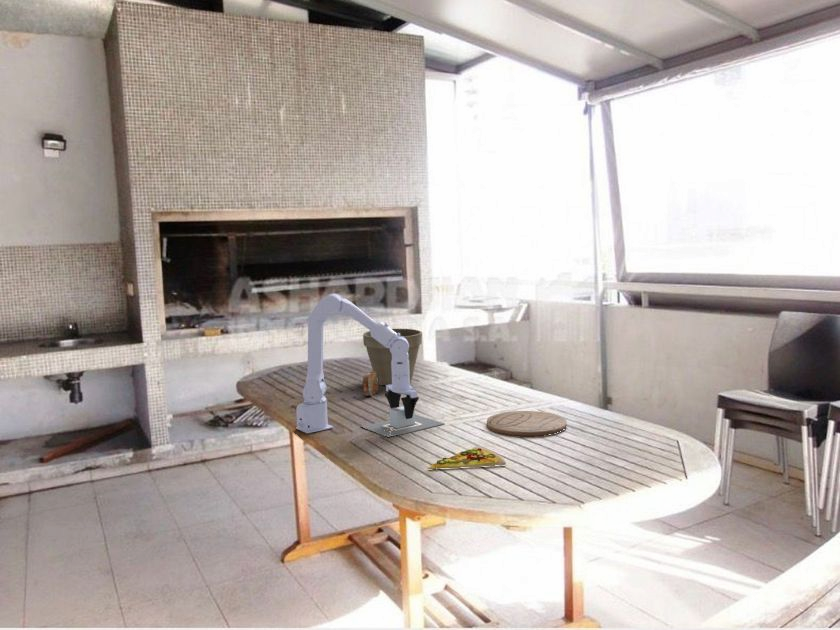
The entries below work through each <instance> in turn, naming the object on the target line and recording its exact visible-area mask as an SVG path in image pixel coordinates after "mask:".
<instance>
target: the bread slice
mask: <svg viewBox="0 0 840 630" xmlns="http://www.w3.org/2000/svg"><path fill="white" fill-rule="evenodd" d="M379 387H380V385H379V378H378V374H377V372H376V371H373V370H372V371H369V372H367V373H366V374H365V375H364V376H363V378H362V390H363V394H364V396H365V397H373V396H374V395H375V394H376V393H377V392H378V391H379ZM375 392H376V393H375ZM374 393H375V394H374ZM373 394H374V395H373ZM372 395H373V396H372Z"/></svg>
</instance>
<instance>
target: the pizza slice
mask: <svg viewBox="0 0 840 630" xmlns="http://www.w3.org/2000/svg"><path fill="white" fill-rule="evenodd" d="M506 463H507V462H506V461H505V459H504V458H503V457H502V456H501V455H499V454H498V453H496V452H494V451H493V450H490V449H487V448H484V447H479V446H474V447H472V449H467V450H464V451H460V452H458V453H456V454H454V455H452V456H450V457H443V458H441V459H439V460H436V462H435V463H433V464H432V465H431V466H429V467H427V470H428V469H436V468H460V467H479V466H495V465H505V464H506ZM506 465H507V464H506Z"/></svg>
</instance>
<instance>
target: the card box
mask: <svg viewBox="0 0 840 630" xmlns="http://www.w3.org/2000/svg"><path fill="white" fill-rule="evenodd" d="M415 414H416V413H415V411H414V412H413V417H412V418H410V419H406V417H405V410H404V405H402V406H399V407H397V408H389V420H390V426H392V427H395V428H401V427H405V426H409V425H413V424H415Z"/></svg>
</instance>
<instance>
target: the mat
mask: <svg viewBox="0 0 840 630" xmlns="http://www.w3.org/2000/svg"><path fill="white" fill-rule="evenodd" d="M444 425H445V423H444V422H441V421H438V420H434V419H432V418H429V417H425V416H422V415H419V414H416V413H415V424H413V425H409V426H405V427H401V428H395V427H393V428H391V427H392V426H390V419H388V420H384V421H379V422H374V423H370V424H365V425H362V426H360V428H361V427H363V428H365V429H364V430H366V427H367V429H368V430H367V431H369V430H371V431H373V432H372V433H374V432H376V433H378V434H377V435H379V434H381V435H380V436H382V435H385V436H387V435H388V436H390V435H389V434H391V435H393V436H394V437H397V436H396V435H398V436H402V434H403V435H406V433H407V434H410V433H414V431H415V432H418V431H423V430H427V429H431V428H436V427H439V426H444ZM363 428H362V429H363ZM372 428H373V429H372ZM390 428H391V429H392V430H393V431H391V430H390ZM387 429H388V430H387ZM384 430H385V431H384ZM371 431H370V432H371ZM389 431H391V433H390V432H389ZM376 433H375V434H376ZM388 436H387V437H388ZM387 437H386V438H387Z"/></svg>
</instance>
